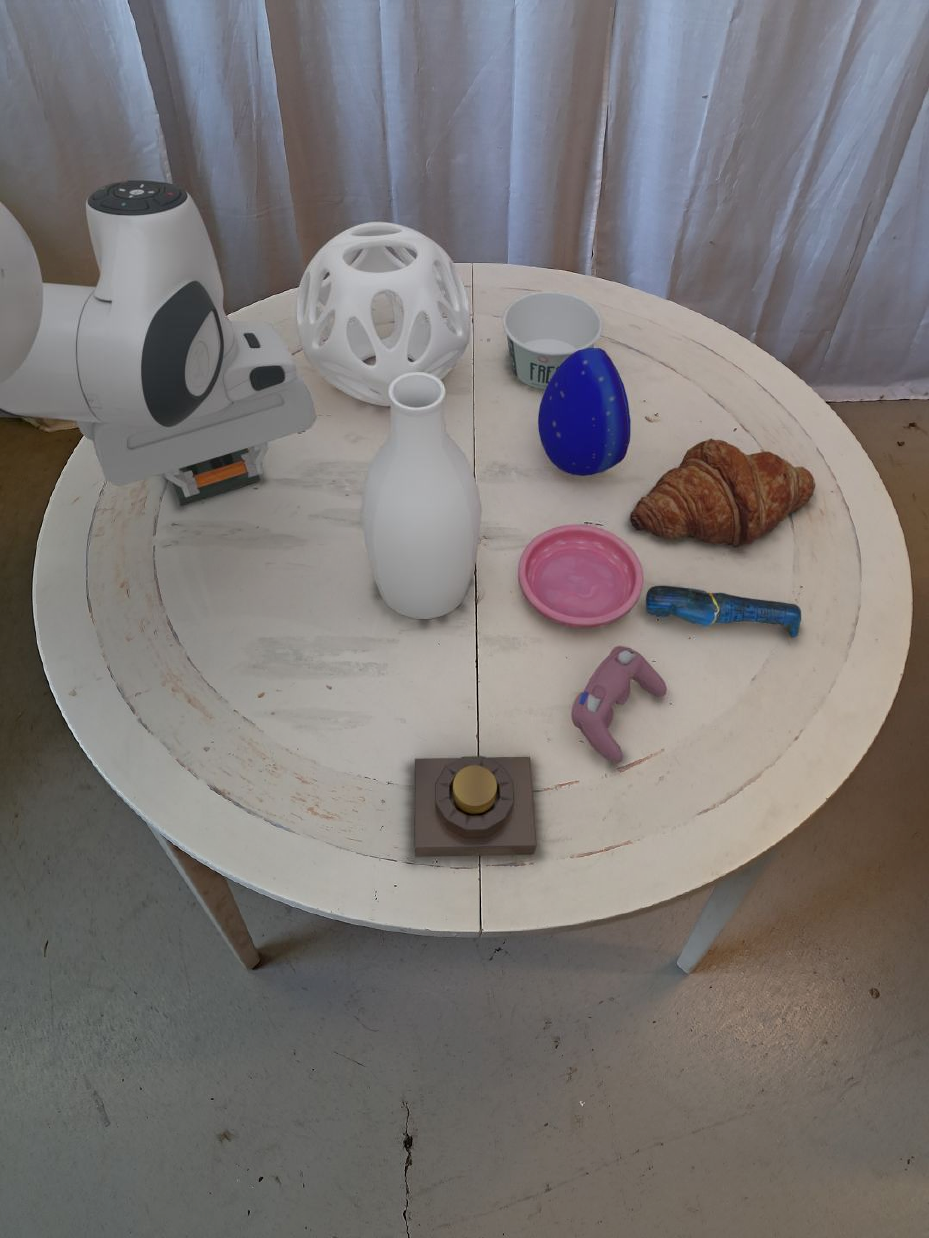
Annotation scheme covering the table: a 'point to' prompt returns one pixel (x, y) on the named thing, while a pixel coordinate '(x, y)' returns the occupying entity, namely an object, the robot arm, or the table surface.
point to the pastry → (723, 495)
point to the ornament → (585, 414)
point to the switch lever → (219, 472)
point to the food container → (548, 333)
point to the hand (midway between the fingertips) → (223, 481)
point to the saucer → (580, 576)
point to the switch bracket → (217, 486)
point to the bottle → (420, 505)
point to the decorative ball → (353, 297)
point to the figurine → (720, 608)
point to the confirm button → (474, 789)
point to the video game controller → (612, 697)
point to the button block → (473, 834)
